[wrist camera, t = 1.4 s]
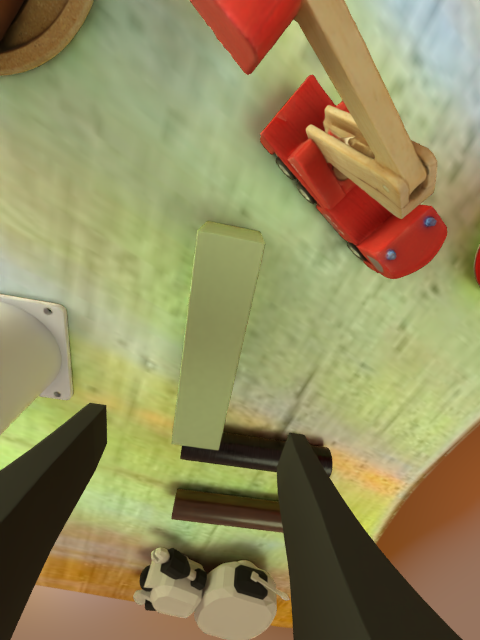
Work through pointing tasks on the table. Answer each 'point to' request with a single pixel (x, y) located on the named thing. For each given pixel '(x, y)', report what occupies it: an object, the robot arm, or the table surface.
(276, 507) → the walnut rod
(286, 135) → the toy fire truck
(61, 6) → the toy sandwich meal
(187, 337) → the bar
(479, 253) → the beverage can
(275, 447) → the black rod
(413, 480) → the table surface
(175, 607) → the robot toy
